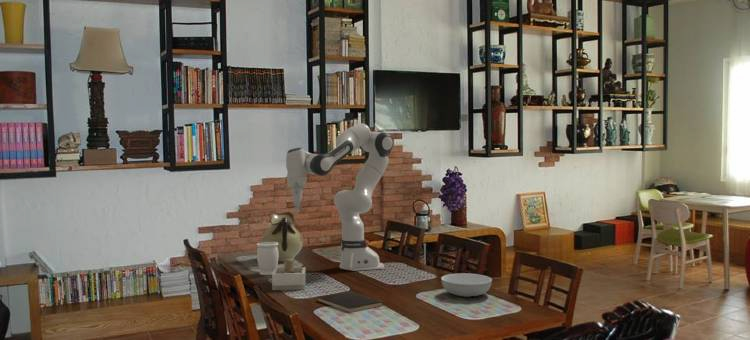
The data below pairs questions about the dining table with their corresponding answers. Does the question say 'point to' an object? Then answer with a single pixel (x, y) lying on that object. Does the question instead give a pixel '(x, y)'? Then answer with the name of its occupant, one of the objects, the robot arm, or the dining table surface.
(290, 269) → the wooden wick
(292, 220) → the beige rounded piece
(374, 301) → the hardcover book
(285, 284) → the white square box
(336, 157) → the robot arm
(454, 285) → the serving bowl
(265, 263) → the jar
